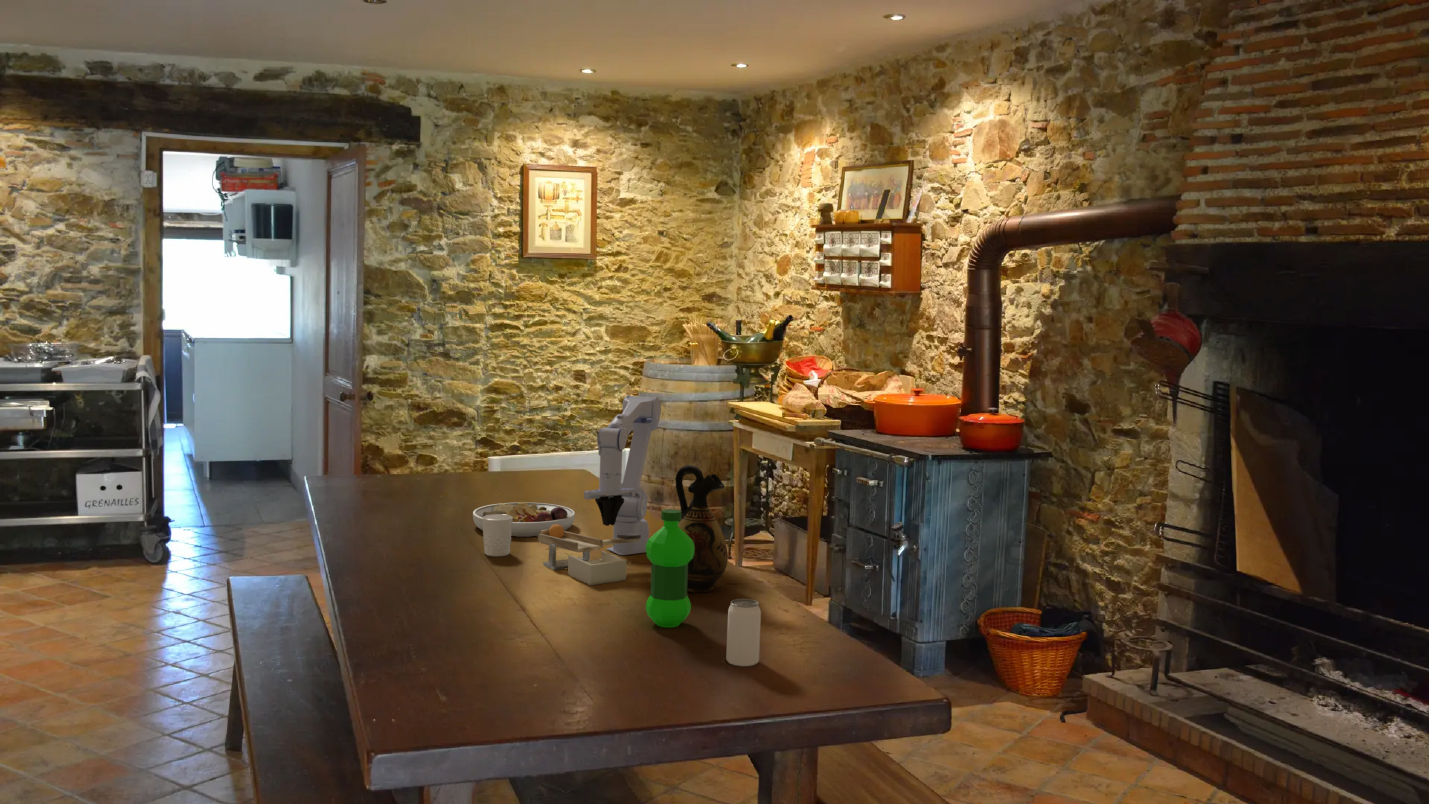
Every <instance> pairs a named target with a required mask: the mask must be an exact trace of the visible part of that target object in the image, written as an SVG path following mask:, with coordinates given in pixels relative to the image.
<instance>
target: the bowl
mask: <svg viewBox="0 0 1429 804" xmlns="http://www.w3.org/2000/svg"><path fill="white" fill-rule="evenodd" d="M492 514H504V515H510V516H512V517H513V520H512V536H516V538H530V537H531V536H536V537H538V534H541V530H549V529H550V527H551V526H552V525H555V524H558V525H561V526H562V527H563V528H564V531H567V530H569V528H571V526H572V525H573V524H574V523H575V522H574V521H575V519H576V512H575V511H574V509H571V508H570V507H567V506H563V505H558V504H552V503H543V502H542V503H541V502H527V501H525V500H523V501H519V502H506V503H505V502H504V503H495V504H488V505H484V506H480V507H478V508H475V509H474V510H473V511H472V519H473V522H474V524H475V526H476V527H477V528H478V529H480V530H481V531H483V516H486V515H492ZM531 538H532V537H531Z"/></svg>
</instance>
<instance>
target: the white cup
mask: <svg viewBox="0 0 1429 804" xmlns="http://www.w3.org/2000/svg"><path fill="white" fill-rule="evenodd" d="M512 520H513V517H512V516H510V515H504V514H492V515H486V516H483V530H482V535H483V538H482V539H483V547H484V549H483V550H484V551H483V553H484V555H485V554H486V556H488V557H504V556H509V555H510V553H511V543H512V537H511V536H512Z"/></svg>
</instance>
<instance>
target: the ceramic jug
mask: <svg viewBox="0 0 1429 804" xmlns="http://www.w3.org/2000/svg"><path fill="white" fill-rule="evenodd" d="M687 475H693V476H695V480H694V481H692V483H691V484H690V485H689V486H688V489H687V490H688V492H689V493H692V494H693V497H692V500H691V502H690V503H689V506H688V501H687V498H686V494H685V489H684V484H683V480H684V476H687ZM724 488H725V484H724V483H723V482H722V481H721V479H720V477H719V476H718V475H716V474H715V473H711V474H707V475H706V476H705V477H704V475H703V472H702V470H701V469H700V468H699V467H697V466H694V465H692V464H686V465H684V466H681V467H680V468H679V469H678V470H677V472H676V475H675V491H676V493H677V497H678V500H679V506H680V511H681V520H680V521H679V524H678V527H679V528H680V529H682V530H683V531H684V532H685V533H686V534H687V535H688V536H689V537H690V538H691V539H692V540H693V543H694V546H695V550H694V556H693V558H692V559H691V560H690V562H689V563H688V579H687V593H688V592H690V593H693V594H701V593H711V592H712V591H714V589H715V585H716V583H717V582H718V581H719V580H720V578H721V577H722V576H723V574H724V573H725V571H726V569H727V566H728V560H729V559H728V558H729V555H728V554H729V553H728V548H727V541H726V538H725V535H724V533H723V531H722V528H721V526H720V524H719V523H718V521H717V519H716V517H715V515H714V514H713V512H712V511H711V508H710V506H709V505H708V502H707V500H708V499H707V497H708V496H709V494H710V493H713V492H716V491H720V490H722V489H724Z"/></svg>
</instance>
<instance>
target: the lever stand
mask: <svg viewBox="0 0 1429 804" xmlns="http://www.w3.org/2000/svg"><path fill="white" fill-rule="evenodd" d="M577 558H578V559H580V560H583V561H589V560H591V551H586V552H582V557H577ZM542 565H543V566H545V567H546V568H548V569H550V568H551V570H553V571H560V569H562V570H566V569H565V568H568V558H567V559H566V558H565V559H560V560H559V559H557V547H556V545H555V544H549V545H548V561H543V564H542Z"/></svg>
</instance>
